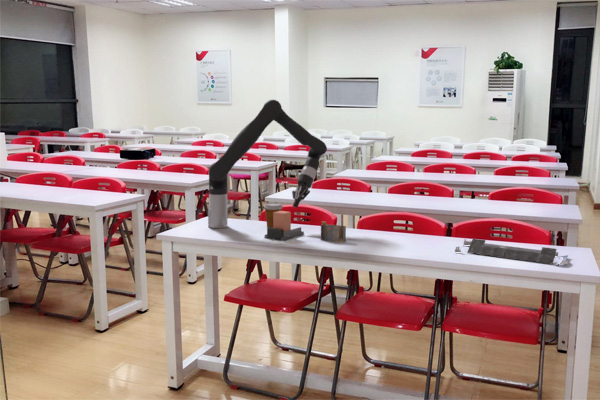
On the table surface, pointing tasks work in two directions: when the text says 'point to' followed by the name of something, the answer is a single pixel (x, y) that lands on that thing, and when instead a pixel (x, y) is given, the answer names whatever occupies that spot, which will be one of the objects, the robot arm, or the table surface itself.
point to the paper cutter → (513, 252)
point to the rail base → (283, 233)
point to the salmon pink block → (282, 220)
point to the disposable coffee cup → (271, 212)
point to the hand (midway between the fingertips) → (294, 206)
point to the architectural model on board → (333, 232)
